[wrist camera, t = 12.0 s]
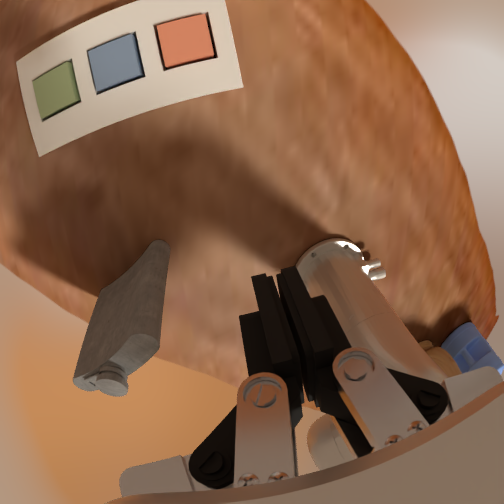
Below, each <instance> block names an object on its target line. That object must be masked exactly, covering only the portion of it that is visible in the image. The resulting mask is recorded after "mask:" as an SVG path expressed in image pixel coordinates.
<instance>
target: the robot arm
mask: <svg viewBox="0 0 504 504" xmlns="http://www.w3.org/2000/svg"><path fill="white" fill-rule="evenodd" d="M380 265H381V264H380V260H379V259H378V258H376V259H373V260H371V261H368V262H367V261H364V257H363V254H362V252H361V251H360V249H359V248H358V247H357V246H356V245H355V244H354V243H353V242H351V241H349V240H346V239H341V238H333V239H328V240H324V241H322V242H319V243H317V244H315V245H314V246H312V247H311V248H309V249H308V250H307V251H306V252H305V253H304V254H303V255H302V256H301V257H300V259H299V260H298V262H297V264H296V266H293V267H289V268H285V269H281V274H277V275H276V277H277V283H278V289H279V294H278V291H277V288H276V286H275V283H274V280H273V277H272V276H268V277H267V276H266V274H265V273H264V274H260V275H256V276H252V277H251V278H252V282H253V287H254V291H255V295H256V299H257V304H258V308H259V311H257V312H253V313H249V314H244V315H240V316H239V320H240V326H241V332H242V338H243V345H244V351H245V357H246V362H247V368H248V374H249V377H248V378H247V379H245V380H244V381H243V382H242V384H241V385H240V387H239V389H238V394H237V405H236V406H235V407H234V408H233V409H232V410H231V412H230V413H229V414H228V415H227V416H226V417H225V419H223V420H222V422H221V423H220V424H219V425H218V426H217V427H216V428H215V429H214V430H213V431H212V433H211V434H210V435H209V436H208V437H207V438H206V439H205V440H204V441H203V442H202V443H201V444H200V445H199V446H198V447H197V448H196V449H195V450H194V452H193V453H192V454H190V455H187V456H184V457H182V456H181V455H179V456H176V457H172V458H169V459H165V460H161V461H156V462H152V463H148V464H144V465H139V466H134V467H131V468H128V469H126V470H125V471H124V472H123V473H122V474H121V477H120V480H119V482H120V490H121V494H122V498H118V499H115V500H112V501H109V502H107V503H105V504H504V381H503V379H502V377H501V375H500V373H499V372H498V370H496V369H495V368H494V367H490V366H486V367H481V368H479V369H476V370H472V371H469V372H466V373H463V374H460V375H456V376H453V377H449V378H448V376H447V375H446V374H445V373H444V372H443V371H442V370H441V369H440V367H439V366H438V365H437V364H436V363H435V362H434V361H433V360H432V359H431V358H430V357H429V356H428V355H427V353H426V352H425V351H424V350H423V349H422V348H421V346H420V345H419V344H418V342H417V341H416V340H415V339H414V337H413V336H412V334H411V333H410V332H409V330H408V329H407V328H406V326H405V325H404V323H403V322H402V321H401V319H400V318H399V317H398V315H397V314H396V313H395V311H394V310H393V308H392V307H391V306H390V304H389V303H388V301H387V300H386V299H385V297H384V296H383V295H382V293H381V292H380V291H379V289H378V288H377V286H376V285H375V284H374V283H373V280H379V279H382V278H385V276H386V272H385V269H384V268H383V267H380V268H377V269H373V270H372V271H369V272H368V270H369V269H370V268H375V267H378V266H380ZM279 295H280V297H279ZM302 383H303V384H302ZM303 386H304V389H305V392H306V395H307V398H308V401H309V402H310V401H313V400H314V402H315V405H316V408H317V407H320V410H321V412H324V413H326V414H325V415H323V416H322V417H320V418H319V419H317V420H316V421H315V422H314V423H313V424H312V425H311V426H310V428H309V430H308V433H307V445H308V449H309V452H310V454H311V457H312V459H313V461H314V462H315V464H316V465H317V467H318V468H319V470H320V471H317V472H313V473H309V474H306V475H301V476H298V463H297V451H296V450H297V449H296V436H295V427H296V425H297V424H298V423H299V421H300V419H301V418H302V417H303V414H302V405H301V404H303V403H304V394H303Z"/></svg>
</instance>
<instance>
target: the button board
mask: <svg viewBox="0 0 504 504" xmlns="http://www.w3.org/2000/svg"><path fill="white" fill-rule="evenodd" d="M201 14H205V15H206V18H208V22H209V27H210V31H211V36H212V41H213V45H214V50H215V55H216V58H215V59H210V60H205V61H201V62H197V63H192V64H188V65H184V66H181V67H177V68H173V69H170V70H166V68H165V64H164V59H163V55H162V50H161V45H160V41H159V36H158V31H157V25H161V24H164V23H168V22H172V21H175V20H179V19H183V18H188V17H192V16H197V15H201ZM130 34H132V35H134V36H135V37H137V40H138V45H139V49H140V54H141V58H142V63H143V67H144V72H145V76H146V77H144V78H141V79H138V80H135V81H132V82H129V83H127V84H124V85H121V86H119V87H116V88H113V89H111V90H108V91H106V92H104V91H97V90H96V86H95V82H94V77H93V73H92V68H91V64H90V59H89V54H88V51H90V50H92V49H95V48H97V47H99V46H102V45H104V44H106V43H109V42H111V41H114V40H116V39H119V38H122V37H124V36H127V35H130ZM66 62H71V63H73V67H74V72H75V77H76V81H77V86H78V90H79V94H80V98H81V103H79V104H77V105H75V106H72V107H70V108H68V109H66V110H64V111H62V112H60V113H59V114H57V115H55V116H53V117H52V116H50V117H46V118H43V119H41V117H40V113H39V109H38V105H37V101H36V97H35V92H34V88H33V83H32V82H33V81H34V80H36V79H38V78H39V77H41V76H43V75H44V74H46V73H48V72H49V71H51V70H53V69H55V68H56V67H58V66H60V65H62V64H64V63H66ZM16 64H17V71H18V76H19V82H20V87H21V92H22V97H23V101H24V106H25V110H26V114H27V118H28V122H29V125H30V129H31V132H32V136H33V139H34V143H35V146H36V149H37V152H38V155H39V157H41V156H43V155H45V154H47V153H49V152H50V151H52V150H54V149H56V148H58V147H60V146H63V145H65V144H67V143H69V142H71V141H73V140H75V139H77V138H80V137H82V136H84V135H86V134H89V133H91V132H93V131H96V130H98V129H101V128H103V127H106V126H108V125H111V124H113V123H116V122H119V121H121V120H124V119H127V118H130V117H132V116H135V115H138V114H141V113H144V112H147V111H150V110H153V109H157V108H160V107H163V106H167V105H170V104H173V103H177V102H181V101H184V100H188V99H192V98H196V97H200V96H204V95H209V94H213V93H218V92H222V91H227V90H232V89H237V88H243V83H242V78H241V74H240V69H239V64H238V59H237V54H236V49H235V45H234V40H233V35H232V31H231V26H230V22H229V17H228V13H227V8H226V4H225V0H138V1H135V2H132V3H129V4H127V5H124V6H121V7H118V8H116V9H113V10H111V11H108V12H106V13H104V14H101V15H99V16H97V17H94V18H92V19H90V20H88V21H86V22H83V23H81V24H79V25H77V26H75V27H73V28H71V29H69V30H67V31H66V32H64V33H62V34H60V35H58V36H56V37H55V38H53V39H51V40H49V41H48V42H46V43H44V44H43V45H41V46H39V47H38V48H36V49H35V50H33V51H31V52H30V53H28V54H27V55H25V56H24V57H22V58H21V59H20V60H18V61H17V62H16Z"/></svg>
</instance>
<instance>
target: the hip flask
mask: <svg viewBox="0 0 504 504" xmlns="http://www.w3.org/2000/svg"><path fill="white" fill-rule="evenodd" d="M169 256H170V246H169V245H168V244H167V243H166V242H165V241H163V240H155V241H153V242H152V243H151V244H150V245H149V246H148V248H147V249H146V251H145V252H144V253H143V254H142V256H141V257H140V258H139V259H138V260H137V261H136V263H135V264H134V265H133V266H132V267H130V268H129V269H128V270H127V271H126V272H125V273H124V274H123V275H122V276H121V277H119V278H118V279H117V280H115V281H114V282H113V283H111V284H110V285H108V286H106V287H105V288H103V289H102V290H101V291H100V294H99V296H98V299H97V302H96V305H95V308H94V310H93V313H92V316H91V319H90V322H89V325H88V329H87V332H86V335H85V338H84V341H83V345H82V348H81V351H80V355H79V359H78V362H77V366H76V370H75V373H74V377H73V383H74V384H75V385H76V386H77V387H78V388H80V389H82V390H85V391H95V390H98V389H99V390H100V391H101V392H103V393H105V394H107V395H111V396H124V395H126V394H127V392H128V383H127V378H128V377H127V376H128V375H130V374H131V373H133V372H134V371H136V370H137V369H138V368H140V367H141V366H142V365H143V364H145V363H146V362H147V361H148V360H149V359H150V358H151V357H152V356H153V355H154V354H155V353H156V352H157V351H158V350H159V347H160V335H161V323H162V313H163V304H164V295H165V286H166V278H167V271H168V263H169Z"/></svg>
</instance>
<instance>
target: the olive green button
mask: <svg viewBox="0 0 504 504" xmlns="http://www.w3.org/2000/svg"><path fill="white" fill-rule="evenodd" d="M32 83H33V88H34V92H35V97H36V101H37V105H38V109H39V113H40V117H41V119H43V118H46V117H50V116H53V115H55V114H57V113H59V112H61V111H63V110H65V109H67V108H69V107H71V106H73V105H75V104H77V103H79V102H81V98H80V94H79V90H78V86H77V81H76V77H75V72H74V67H73V63H71V62H66V63H64V64H62V65H60V66H58V67H56V68H55V69H53V70H51V71H49V72H48V73H46V74H44V75H43V76H41V77H39V78H38V79H36V80H34V81H33V82H32Z"/></svg>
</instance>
